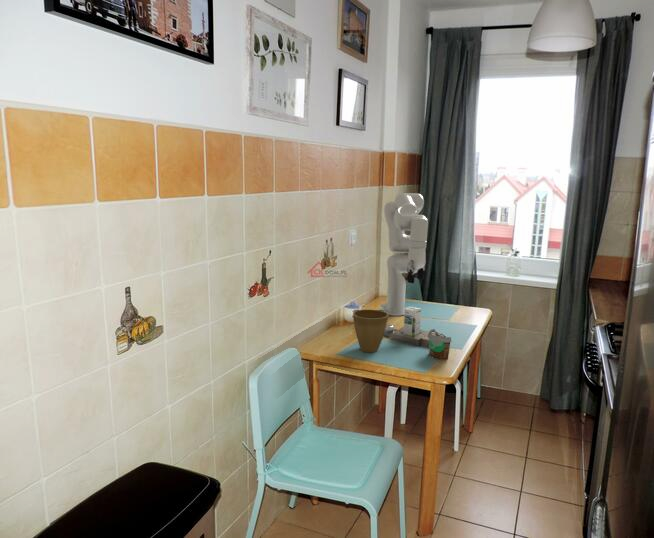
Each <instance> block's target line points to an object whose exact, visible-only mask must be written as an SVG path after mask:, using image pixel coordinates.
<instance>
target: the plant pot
mask: <svg viewBox="0 0 654 538" xmlns="http://www.w3.org/2000/svg"><path fill="white" fill-rule="evenodd" d="M352 317H353V324H354V330H355V334H356V335H355V336H356V339H357V342H358V345H359V349H360V351H362V352H365V353H376V352H377V351H379V348H380V346H381V343H382V341H383V339H384V337H385V336H384V332H385V329H386V325H388V318H389V315H388V314H387V313H386V312H384V310H378V309H368V308H367V309H359V310H358V309H357V310H355V311H353V312H352Z"/></svg>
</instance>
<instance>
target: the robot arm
mask: <svg viewBox="0 0 654 538" xmlns="http://www.w3.org/2000/svg"><path fill="white" fill-rule="evenodd" d="M424 205H425V200H424V197H423V195H422V194H421V193H417V192H415V193H413V192H408V193H407V192H403V193H399V194H398V195H396V196H395V198H394V201H393V200H392V201H388V202H386V203H385V205H384V208H383V210H384V211H383V212H384V218H385V221H386V223H387V228H388V247H389V250H390V252H392V253H397V254H393V255H392V254H391V255H390V256H389V257H388V258H387V260H386V266H387V290H386V291H387V292H386V294H387V295H386V296H387V297H386V303H385V302H381V303H380V307H381V308H384V309H383V312H386V313H387V314H388V316H395V317H401V316H404V311H405V308H406V307H405V306H406V305H405V304H406V290H407V289H406V288H407V287H406V286H407V285H406V283H408V284H415V277H416V278H417V279H418V280H424V279H425V270H426V263H427V260H426V259H427V258H426V256H427V254H426V249H427V239H428V228H429V227H428V226H429V220H428V218H427V217H426V216H425V215H424V214H419V213H420V212H421V211H422V210H423V208H424ZM407 231H408V232H409V231H410V233H409V234H405V232H407ZM401 253H402V254H401ZM404 253H405V254H404ZM416 273H417V274H416ZM402 274H407V280H406V279H405V277H404V276H403V275H402ZM415 274H416V275H417V276H415ZM406 281H407V282H406Z"/></svg>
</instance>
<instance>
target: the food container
mask: <svg viewBox="0 0 654 538" xmlns="http://www.w3.org/2000/svg"><path fill="white" fill-rule="evenodd" d="M427 337H428V338H429V349H428V350H429V351H428V352H429V353H428V354H429V355H430V356H431V358H432V357H433V358H432V359H435V360H441V361H442V360H443V361H444V360H445V361H446V360H449V355H450V354H449V353H450V348H451V347H450V346H451V343H452V336H446V335H445V334H443V333H440V332H437V331H436V328H433V329H432V328H431V329H429V333H428V336H427ZM430 356H429V357H430Z"/></svg>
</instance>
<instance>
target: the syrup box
mask: <svg viewBox="0 0 654 538" xmlns="http://www.w3.org/2000/svg"><path fill="white" fill-rule="evenodd" d="M404 309H405V311H404V315H403V327H404V330H403V334H407V335H411V336H417V335H418V334H420V330H421V319H422V318H421V317H422V316H421V315H422V308H420V307H415V306H407V307H405V308H404Z"/></svg>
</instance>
